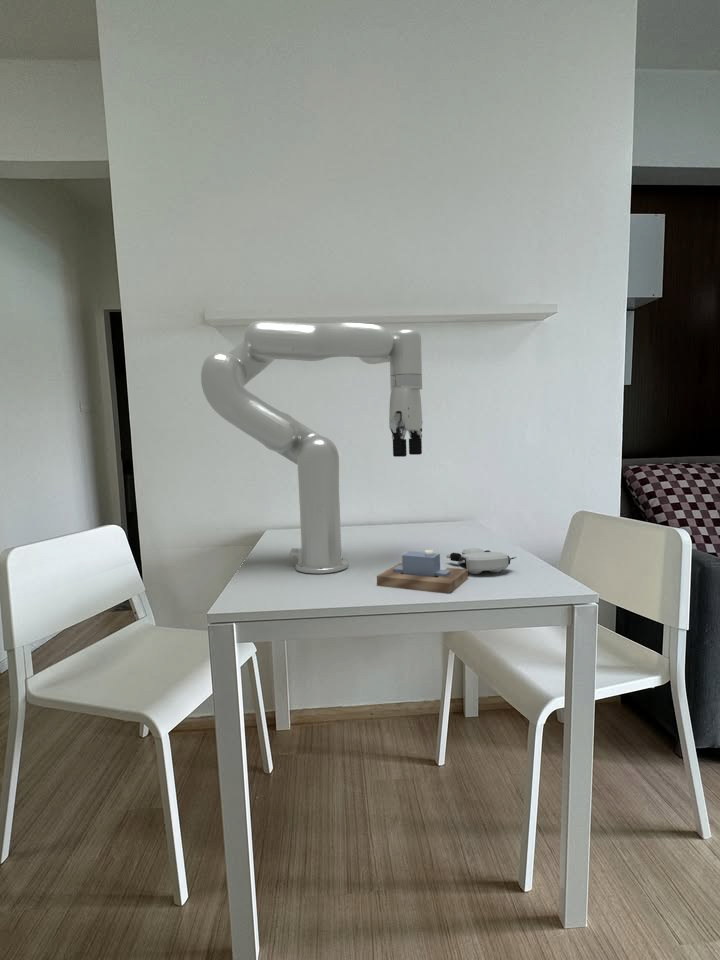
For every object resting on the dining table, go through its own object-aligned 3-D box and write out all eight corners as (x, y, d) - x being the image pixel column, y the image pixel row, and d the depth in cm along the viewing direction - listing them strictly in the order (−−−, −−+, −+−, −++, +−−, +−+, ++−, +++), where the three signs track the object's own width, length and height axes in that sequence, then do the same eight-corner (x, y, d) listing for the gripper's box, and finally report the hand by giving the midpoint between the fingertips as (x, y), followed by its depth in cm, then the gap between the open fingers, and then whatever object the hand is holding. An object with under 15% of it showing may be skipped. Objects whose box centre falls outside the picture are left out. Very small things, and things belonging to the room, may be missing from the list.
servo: (392, 581, 119) (391, 549, 118) (399, 577, 122) (398, 546, 121) (445, 587, 113) (444, 553, 112) (451, 582, 117) (451, 549, 116)
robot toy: (443, 567, 133) (465, 578, 118) (443, 548, 133) (464, 557, 118) (491, 564, 135) (518, 574, 120) (491, 545, 135) (518, 554, 120)
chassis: (377, 585, 116) (376, 576, 116) (399, 571, 126) (399, 563, 126) (450, 593, 108) (450, 583, 108) (467, 578, 119) (467, 569, 119)
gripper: (405, 386, 140) (407, 453, 142) (376, 382, 125) (378, 457, 127) (433, 384, 137) (434, 453, 138) (406, 380, 122) (408, 457, 123)
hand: (407, 455), depth 133 cm, fingers open, 9 cm apart
